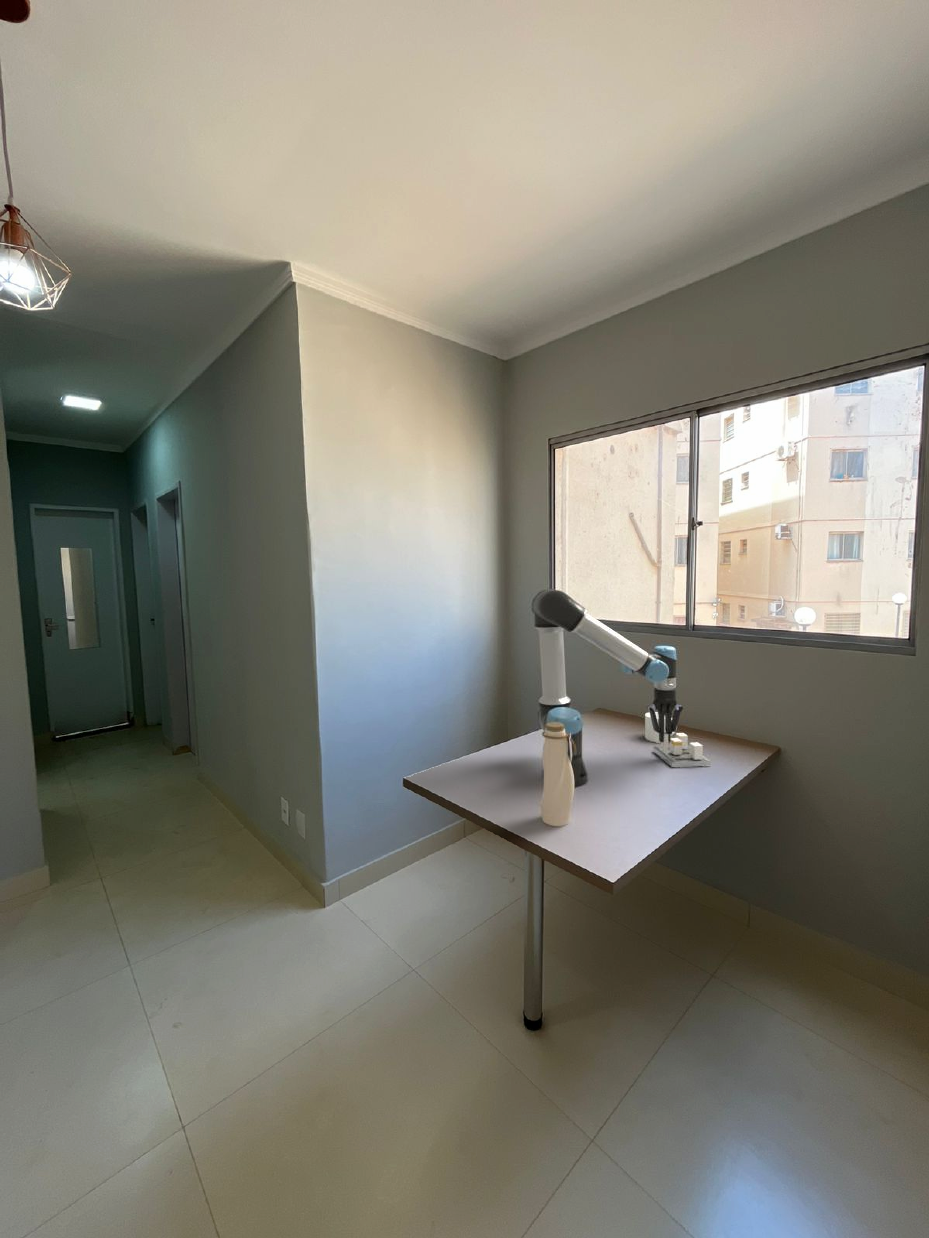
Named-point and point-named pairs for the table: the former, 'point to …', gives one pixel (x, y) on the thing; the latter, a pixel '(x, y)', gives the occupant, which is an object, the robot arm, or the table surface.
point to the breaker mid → (676, 746)
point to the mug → (649, 729)
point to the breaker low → (696, 751)
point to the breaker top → (683, 739)
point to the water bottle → (557, 775)
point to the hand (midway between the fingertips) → (664, 750)
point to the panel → (680, 758)
